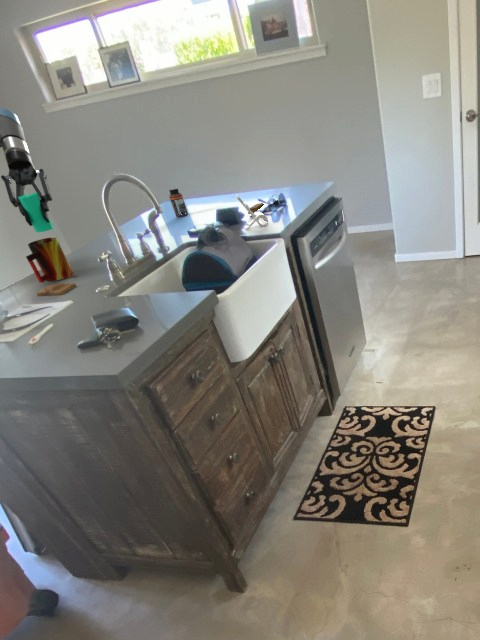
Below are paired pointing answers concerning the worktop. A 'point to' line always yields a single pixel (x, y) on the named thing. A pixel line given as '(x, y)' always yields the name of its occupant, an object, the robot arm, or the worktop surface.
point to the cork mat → (56, 289)
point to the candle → (35, 212)
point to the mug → (49, 260)
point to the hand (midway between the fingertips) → (38, 221)
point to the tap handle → (256, 207)
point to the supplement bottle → (178, 202)
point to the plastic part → (254, 216)
